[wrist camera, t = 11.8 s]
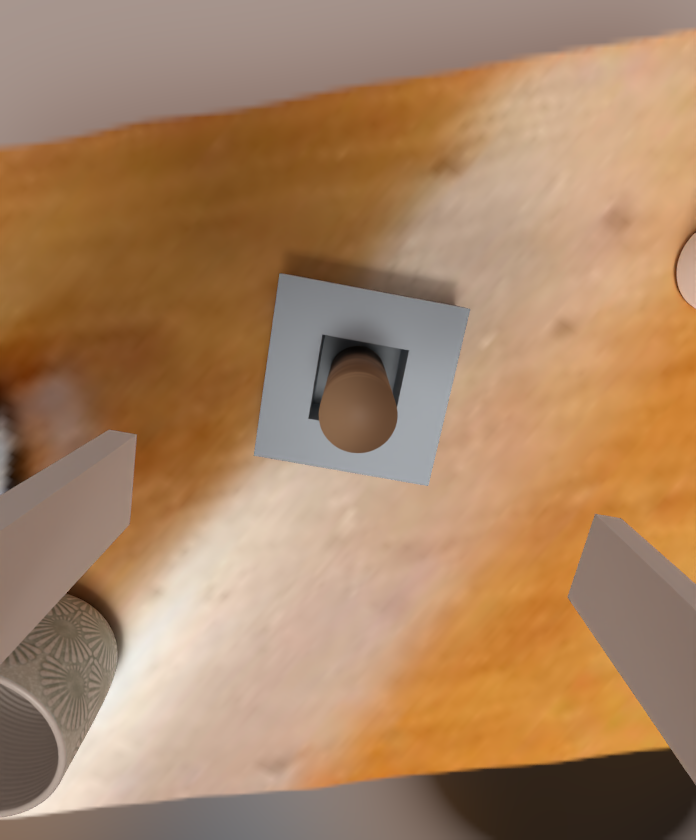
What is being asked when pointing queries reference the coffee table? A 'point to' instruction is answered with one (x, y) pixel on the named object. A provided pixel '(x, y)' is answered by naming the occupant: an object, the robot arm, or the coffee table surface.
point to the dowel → (357, 402)
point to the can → (688, 271)
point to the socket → (402, 358)
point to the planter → (51, 700)
